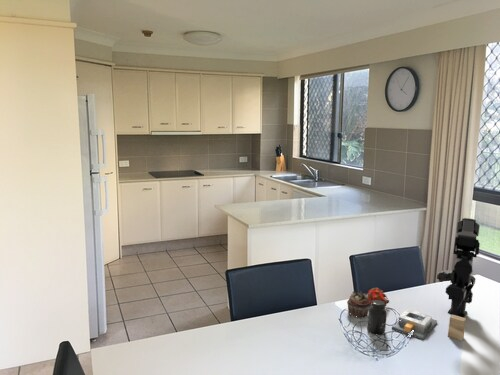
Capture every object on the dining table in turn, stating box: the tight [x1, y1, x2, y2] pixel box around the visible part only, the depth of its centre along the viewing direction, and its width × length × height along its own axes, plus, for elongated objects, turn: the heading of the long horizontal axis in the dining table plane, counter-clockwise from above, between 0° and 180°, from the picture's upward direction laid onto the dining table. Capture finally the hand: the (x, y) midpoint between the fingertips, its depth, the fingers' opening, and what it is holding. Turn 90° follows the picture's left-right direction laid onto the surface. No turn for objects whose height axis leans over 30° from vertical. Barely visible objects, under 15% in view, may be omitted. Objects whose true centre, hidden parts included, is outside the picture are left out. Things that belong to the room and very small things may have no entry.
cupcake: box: [346, 290, 371, 319], centre depth 181 cm, size 10×10×10 cm
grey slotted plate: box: [391, 308, 438, 340], centre depth 173 cm, size 18×12×4 cm, turn 140°
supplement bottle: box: [366, 300, 388, 336], centre depth 167 cm, size 7×7×12 cm
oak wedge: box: [447, 314, 467, 342], centre depth 165 cm, size 3×5×8 cm, turn 50°
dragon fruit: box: [366, 287, 390, 307], centre depth 190 cm, size 8×8×12 cm
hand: (458, 306), depth 163 cm, fingers open, 9 cm apart
